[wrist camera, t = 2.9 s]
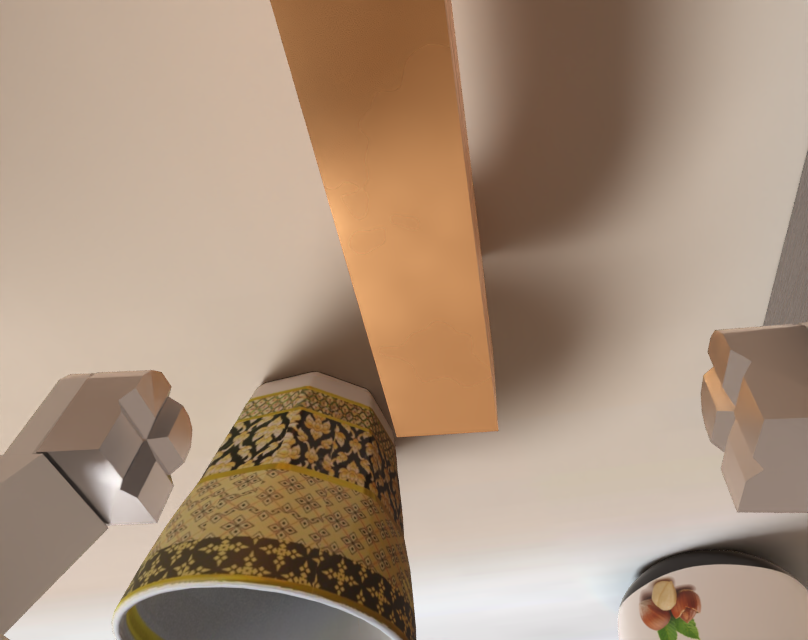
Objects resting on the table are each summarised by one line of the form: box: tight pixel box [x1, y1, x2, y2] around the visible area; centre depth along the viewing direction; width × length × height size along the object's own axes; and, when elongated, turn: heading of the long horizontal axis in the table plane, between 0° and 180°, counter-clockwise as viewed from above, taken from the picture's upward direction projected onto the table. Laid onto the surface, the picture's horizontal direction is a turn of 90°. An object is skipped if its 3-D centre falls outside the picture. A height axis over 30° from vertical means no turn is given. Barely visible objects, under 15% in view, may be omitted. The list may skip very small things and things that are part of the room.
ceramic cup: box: [112, 372, 416, 640], centre depth 25 cm, size 13×10×10 cm
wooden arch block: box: [270, 0, 498, 437], centre depth 15 cm, size 13×3×7 cm, turn 10°
